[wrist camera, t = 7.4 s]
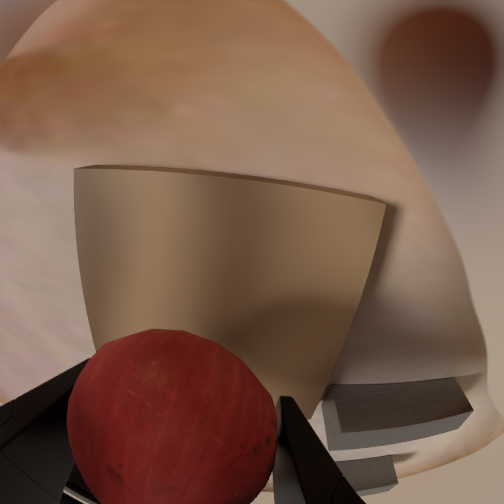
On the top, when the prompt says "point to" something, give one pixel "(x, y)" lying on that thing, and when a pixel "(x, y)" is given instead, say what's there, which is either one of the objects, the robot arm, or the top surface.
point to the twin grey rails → (388, 423)
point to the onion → (171, 422)
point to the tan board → (227, 265)
